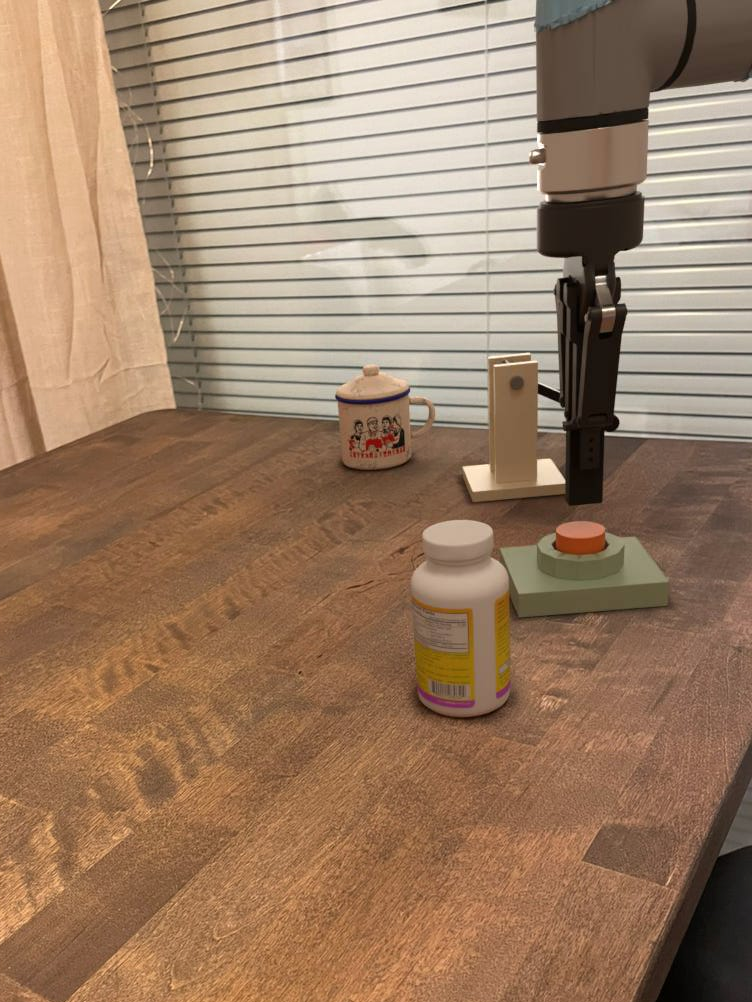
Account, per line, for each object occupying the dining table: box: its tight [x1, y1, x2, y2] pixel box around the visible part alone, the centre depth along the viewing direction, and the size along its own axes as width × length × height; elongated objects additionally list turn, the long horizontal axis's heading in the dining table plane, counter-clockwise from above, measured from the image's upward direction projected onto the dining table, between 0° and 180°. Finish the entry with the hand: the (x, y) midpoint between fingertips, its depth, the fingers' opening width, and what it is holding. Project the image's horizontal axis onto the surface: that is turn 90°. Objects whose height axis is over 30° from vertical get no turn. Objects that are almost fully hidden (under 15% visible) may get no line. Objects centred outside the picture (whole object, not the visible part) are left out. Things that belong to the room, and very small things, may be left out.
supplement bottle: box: [410, 519, 511, 718], centre depth 70 cm, size 7×7×13 cm
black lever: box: [502, 359, 621, 433], centre depth 107 cm, size 13×6×2 cm, turn 87°
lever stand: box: [462, 352, 565, 503], centre depth 109 cm, size 10×9×14 cm
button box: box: [499, 531, 670, 619], centre depth 86 cm, size 12×10×4 cm
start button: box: [555, 520, 607, 555], centre depth 85 cm, size 4×4×2 cm
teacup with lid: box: [334, 364, 436, 471], centre depth 123 cm, size 12×9×12 cm
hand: (583, 501), depth 83 cm, fingers closed
